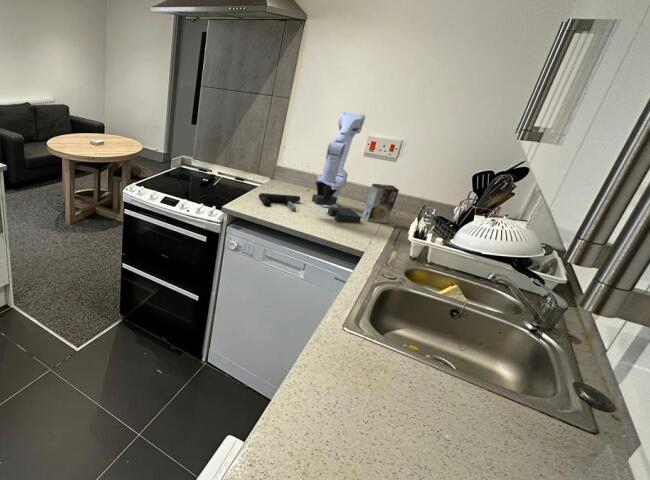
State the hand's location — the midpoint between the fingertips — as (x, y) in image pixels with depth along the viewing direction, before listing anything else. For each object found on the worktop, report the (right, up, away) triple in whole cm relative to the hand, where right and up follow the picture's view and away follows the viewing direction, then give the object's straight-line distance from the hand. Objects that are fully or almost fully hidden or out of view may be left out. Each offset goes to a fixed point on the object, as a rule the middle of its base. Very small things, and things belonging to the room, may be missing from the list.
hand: (322, 200), depth 173 cm
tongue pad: (+1, -1, +1) cm, 2 cm away
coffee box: (+27, -9, +6) cm, 29 cm away
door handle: (-13, -2, +15) cm, 20 cm away
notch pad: (+12, -8, +5) cm, 15 cm away
